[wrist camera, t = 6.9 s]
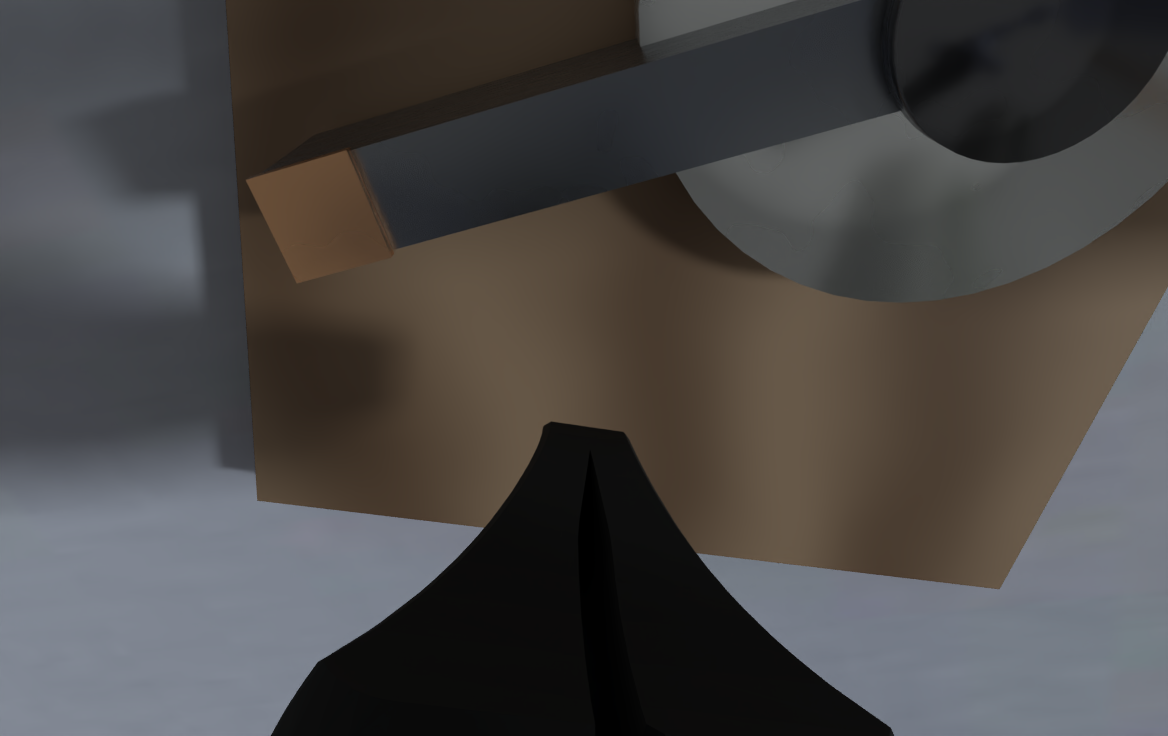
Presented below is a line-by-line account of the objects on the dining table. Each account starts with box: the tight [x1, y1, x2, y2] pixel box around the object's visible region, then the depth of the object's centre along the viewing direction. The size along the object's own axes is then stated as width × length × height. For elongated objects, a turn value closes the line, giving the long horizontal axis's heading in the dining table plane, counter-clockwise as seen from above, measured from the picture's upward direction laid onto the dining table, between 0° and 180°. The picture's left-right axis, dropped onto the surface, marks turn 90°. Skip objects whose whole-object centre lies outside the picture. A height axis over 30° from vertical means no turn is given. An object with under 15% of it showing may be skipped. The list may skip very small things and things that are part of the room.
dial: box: [246, 0, 1168, 303], centre depth 12 cm, size 16×10×4 cm, turn 106°
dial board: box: [226, 0, 1168, 589], centre depth 15 cm, size 19×22×2 cm
